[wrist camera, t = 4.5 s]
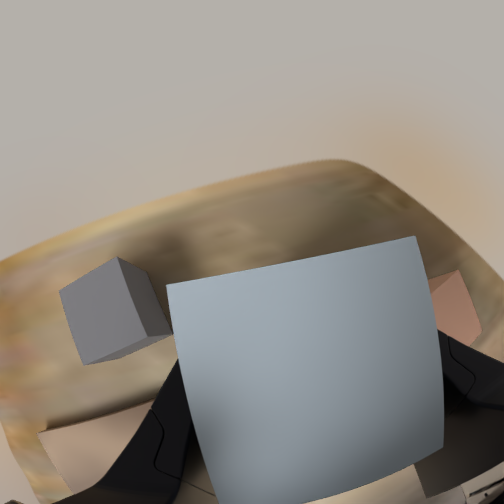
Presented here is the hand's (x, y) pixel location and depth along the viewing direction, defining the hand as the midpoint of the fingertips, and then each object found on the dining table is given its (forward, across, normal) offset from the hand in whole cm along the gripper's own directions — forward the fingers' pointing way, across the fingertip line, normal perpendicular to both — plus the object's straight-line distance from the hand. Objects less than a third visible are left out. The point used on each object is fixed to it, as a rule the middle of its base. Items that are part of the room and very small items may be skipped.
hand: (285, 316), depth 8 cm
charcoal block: (+6, +8, +4) cm, 11 cm away
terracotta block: (+3, -9, +7) cm, 11 cm away
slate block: (+4, 0, +6) cm, 7 cm away
